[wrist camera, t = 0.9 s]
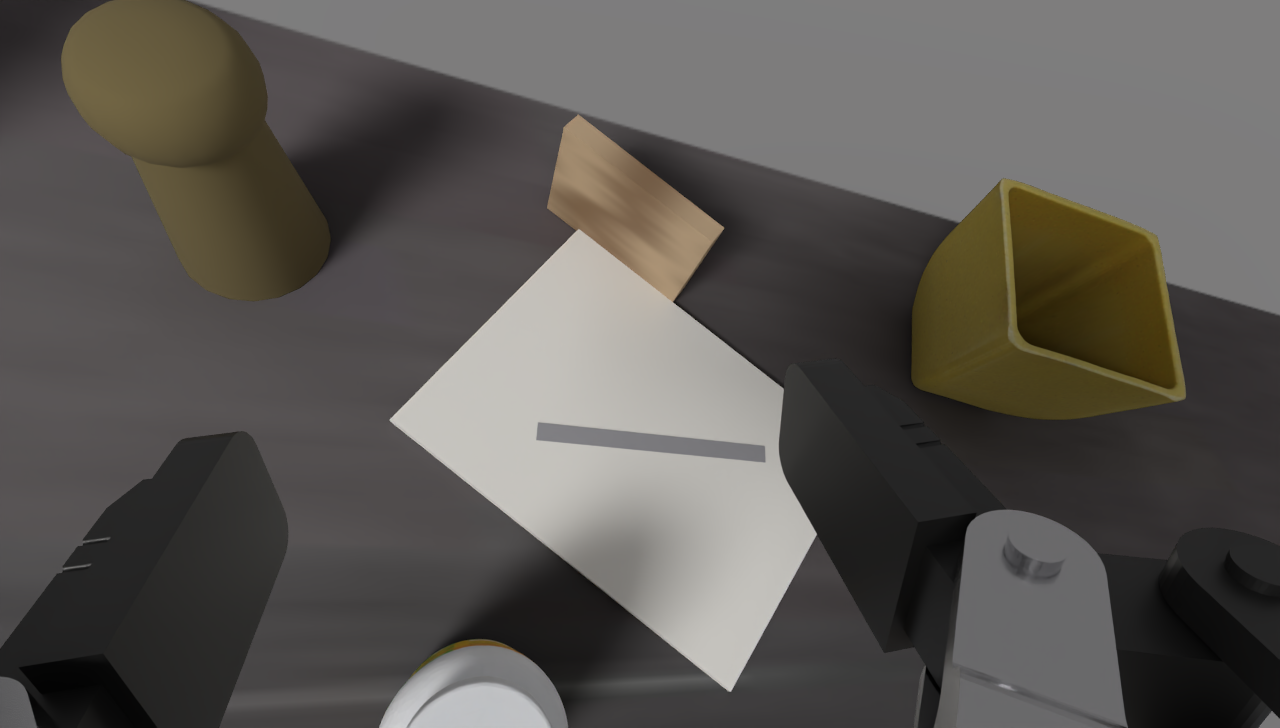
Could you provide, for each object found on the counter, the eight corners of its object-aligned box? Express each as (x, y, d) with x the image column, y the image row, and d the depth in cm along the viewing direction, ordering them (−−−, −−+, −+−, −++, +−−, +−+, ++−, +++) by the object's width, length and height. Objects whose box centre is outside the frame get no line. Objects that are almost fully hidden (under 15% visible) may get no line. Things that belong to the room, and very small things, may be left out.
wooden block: (547, 207, 33) (564, 127, 27) (560, 195, 33) (579, 113, 28) (671, 304, 33) (712, 242, 27) (682, 290, 33) (725, 227, 28)
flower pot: (1014, 312, 38) (1162, 230, 30) (1022, 452, 35) (1192, 402, 27) (882, 270, 37) (1001, 172, 29) (878, 411, 34) (1011, 345, 25)
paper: (390, 421, 27) (389, 419, 27) (577, 231, 33) (578, 228, 32) (727, 690, 27) (731, 691, 26) (859, 451, 32) (863, 450, 32)
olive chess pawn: (330, 182, 30) (267, -28, 20) (331, 298, 28) (262, 127, 18) (180, 180, 29) (32, -51, 19) (171, 303, 27) (0, 118, 17)
